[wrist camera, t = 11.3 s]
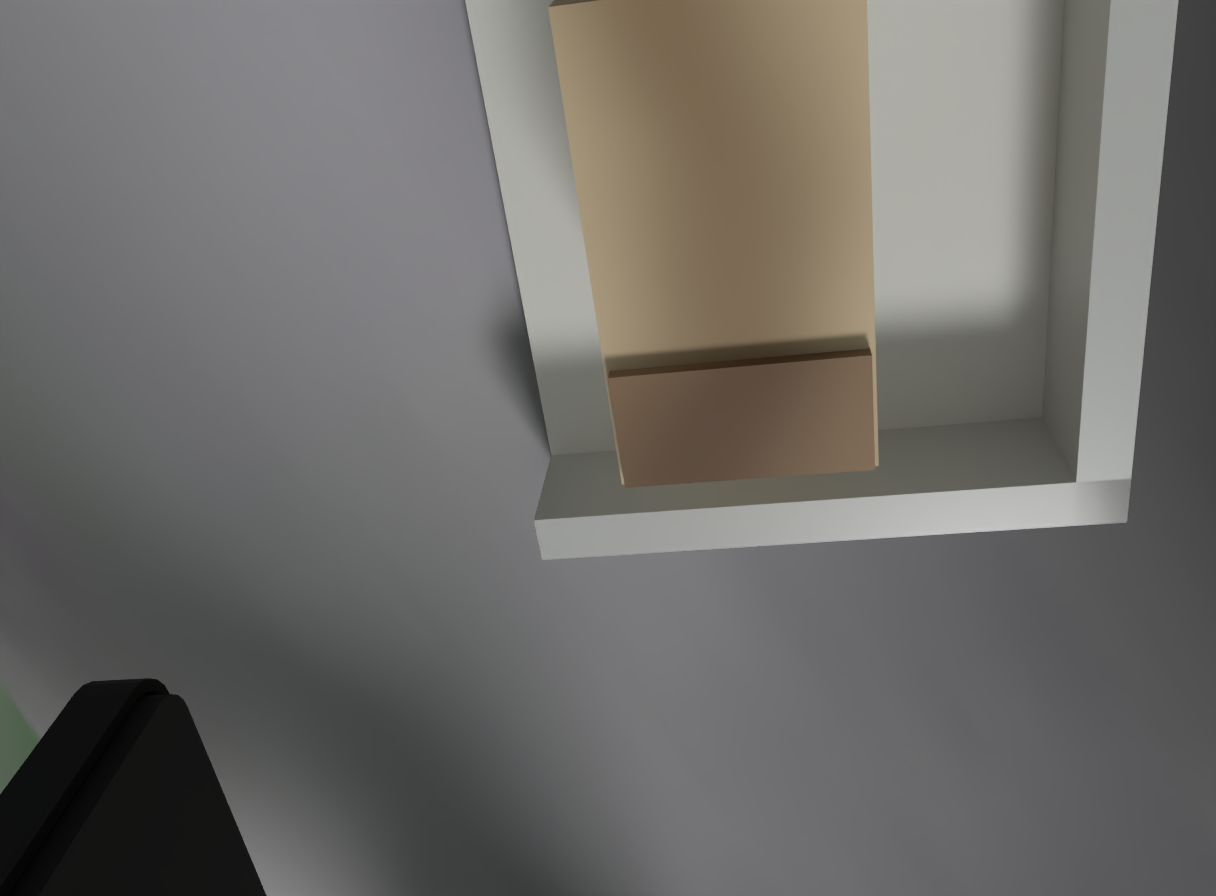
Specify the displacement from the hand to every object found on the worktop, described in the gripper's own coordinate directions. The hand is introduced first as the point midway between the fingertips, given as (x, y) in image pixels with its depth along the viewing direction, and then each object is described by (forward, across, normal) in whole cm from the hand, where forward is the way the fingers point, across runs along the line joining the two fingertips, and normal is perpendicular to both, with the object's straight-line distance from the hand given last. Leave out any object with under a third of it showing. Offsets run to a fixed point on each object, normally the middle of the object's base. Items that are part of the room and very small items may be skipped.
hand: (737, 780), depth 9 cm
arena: (+20, -2, +1) cm, 20 cm away
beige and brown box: (+19, 0, 0) cm, 19 cm away
